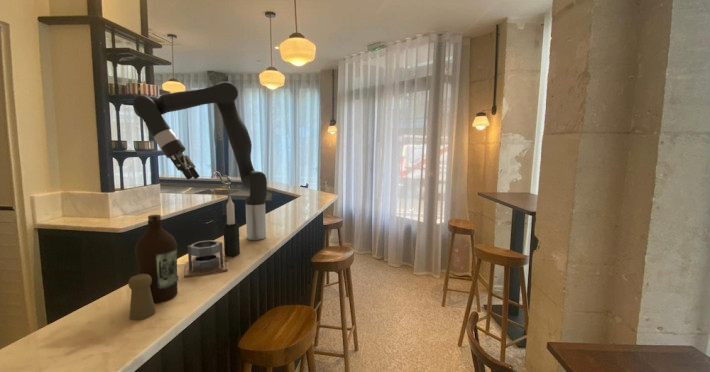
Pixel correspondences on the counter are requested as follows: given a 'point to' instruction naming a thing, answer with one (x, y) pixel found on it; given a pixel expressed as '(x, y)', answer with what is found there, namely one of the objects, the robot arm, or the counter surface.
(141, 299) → the cork
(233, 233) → the bottle
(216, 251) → the collar stand
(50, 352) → the counter surface
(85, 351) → the counter surface
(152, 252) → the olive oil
